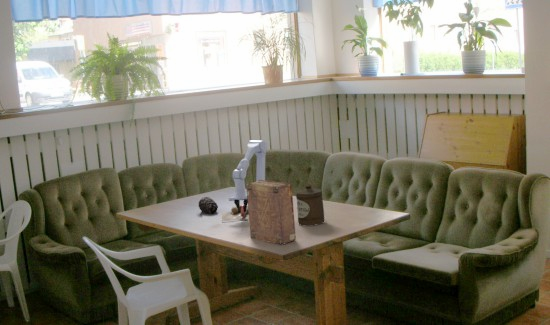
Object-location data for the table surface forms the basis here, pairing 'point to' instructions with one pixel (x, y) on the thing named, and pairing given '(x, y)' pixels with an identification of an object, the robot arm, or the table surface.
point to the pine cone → (208, 205)
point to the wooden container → (310, 206)
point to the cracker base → (234, 216)
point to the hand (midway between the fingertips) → (242, 212)
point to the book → (271, 211)
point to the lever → (243, 210)
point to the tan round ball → (234, 210)
